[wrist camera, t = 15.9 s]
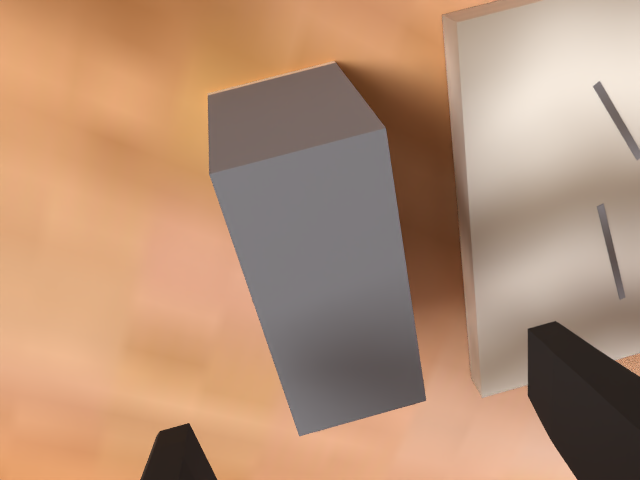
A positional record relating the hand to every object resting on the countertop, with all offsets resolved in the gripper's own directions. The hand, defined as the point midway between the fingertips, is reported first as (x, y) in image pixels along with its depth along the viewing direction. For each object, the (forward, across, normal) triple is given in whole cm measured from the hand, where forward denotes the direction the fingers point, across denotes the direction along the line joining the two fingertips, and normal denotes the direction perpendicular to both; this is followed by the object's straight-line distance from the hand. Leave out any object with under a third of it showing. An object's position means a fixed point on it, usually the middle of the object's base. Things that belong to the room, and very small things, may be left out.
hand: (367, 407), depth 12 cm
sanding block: (+10, 0, 0) cm, 10 cm away
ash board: (+9, -12, +3) cm, 16 cm away
